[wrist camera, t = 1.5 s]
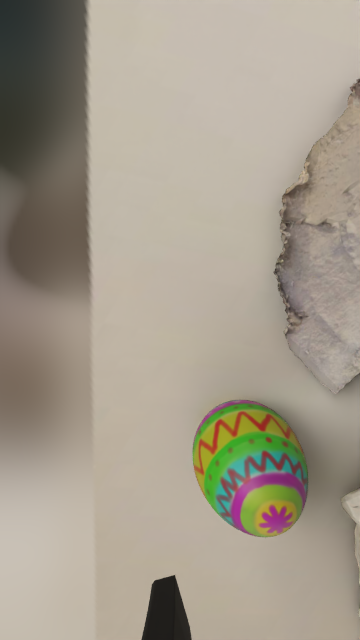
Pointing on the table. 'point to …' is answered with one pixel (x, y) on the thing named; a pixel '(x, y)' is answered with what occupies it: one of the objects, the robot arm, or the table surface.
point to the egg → (251, 468)
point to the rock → (356, 506)
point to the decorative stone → (325, 254)
